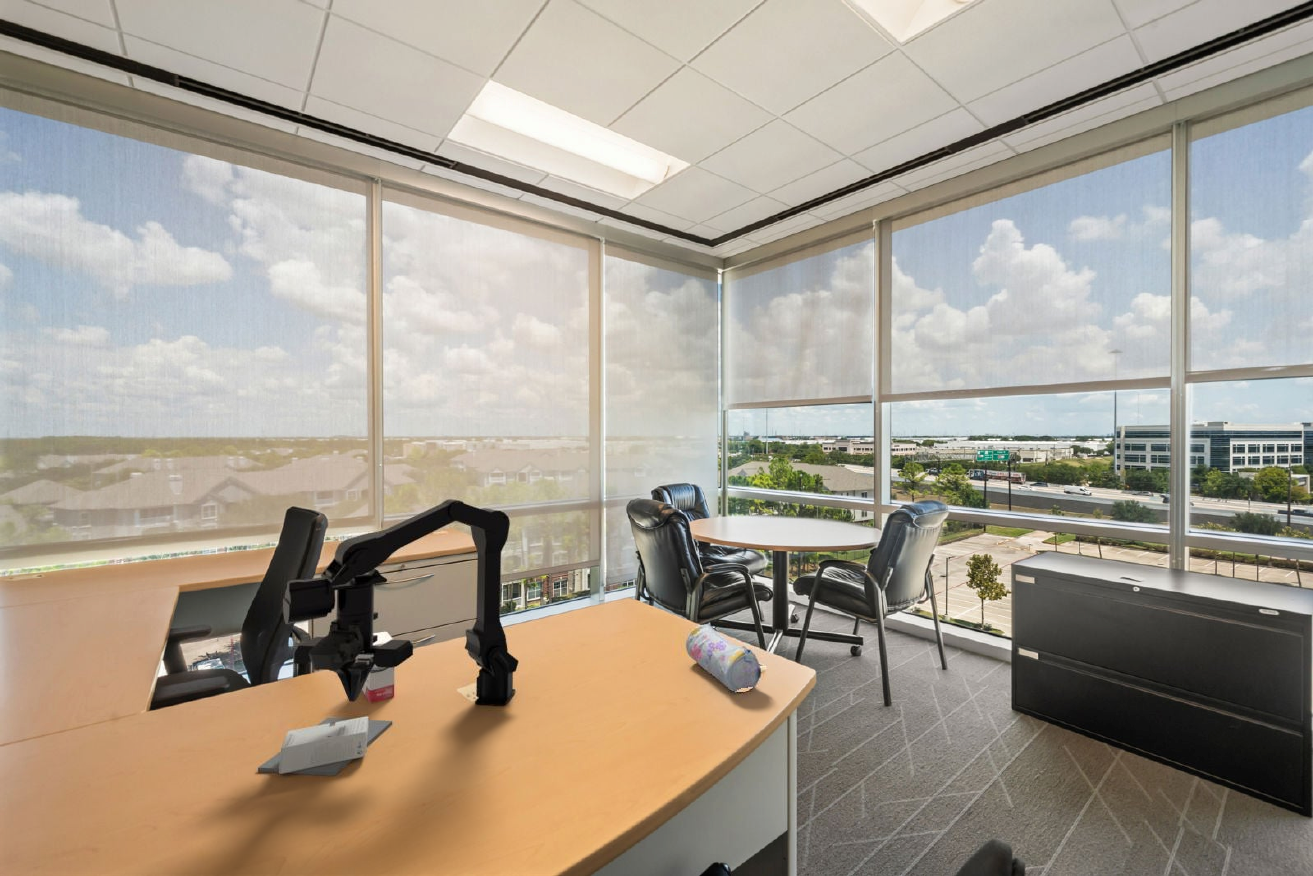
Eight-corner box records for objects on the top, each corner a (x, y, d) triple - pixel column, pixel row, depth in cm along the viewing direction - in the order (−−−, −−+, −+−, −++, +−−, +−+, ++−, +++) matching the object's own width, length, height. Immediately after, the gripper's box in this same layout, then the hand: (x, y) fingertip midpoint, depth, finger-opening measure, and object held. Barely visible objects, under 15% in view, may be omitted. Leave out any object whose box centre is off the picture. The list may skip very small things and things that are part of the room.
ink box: (395, 697, 111) (396, 640, 111) (369, 704, 108) (370, 646, 108) (385, 683, 117) (387, 629, 118) (360, 689, 114) (361, 634, 115)
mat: (392, 724, 100) (392, 721, 100) (334, 776, 84) (334, 772, 84) (327, 720, 101) (327, 717, 101) (257, 771, 85) (257, 767, 85)
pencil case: (763, 692, 115) (763, 648, 115) (730, 699, 111) (730, 654, 111) (713, 657, 134) (713, 620, 134) (683, 663, 130) (683, 624, 130)
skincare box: (367, 731, 88) (279, 746, 83) (365, 758, 88) (278, 776, 83) (369, 714, 94) (287, 728, 88) (367, 740, 94) (285, 755, 88)
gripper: (268, 624, 85) (265, 721, 85) (378, 628, 84) (376, 727, 83) (317, 604, 96) (315, 690, 96) (415, 607, 95) (413, 695, 95)
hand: (353, 700), depth 92 cm, fingers closed
